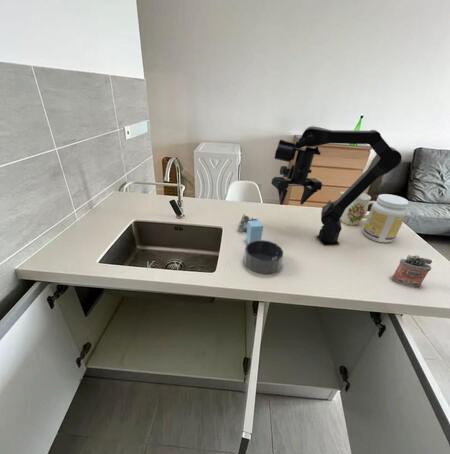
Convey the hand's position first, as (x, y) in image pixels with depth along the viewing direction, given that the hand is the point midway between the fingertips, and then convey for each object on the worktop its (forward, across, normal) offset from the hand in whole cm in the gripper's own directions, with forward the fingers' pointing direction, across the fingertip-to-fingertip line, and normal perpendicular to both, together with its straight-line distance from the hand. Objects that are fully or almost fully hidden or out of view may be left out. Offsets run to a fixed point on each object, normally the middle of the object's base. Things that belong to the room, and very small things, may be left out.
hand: (291, 204), depth 95 cm
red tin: (+10, -24, +37) cm, 46 cm away
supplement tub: (+10, -39, +11) cm, 42 cm away
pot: (+14, +18, +19) cm, 29 cm away
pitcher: (+10, -37, -2) cm, 38 cm away
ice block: (+14, +16, +6) cm, 22 cm away
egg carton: (+14, +13, -6) cm, 20 cm away
